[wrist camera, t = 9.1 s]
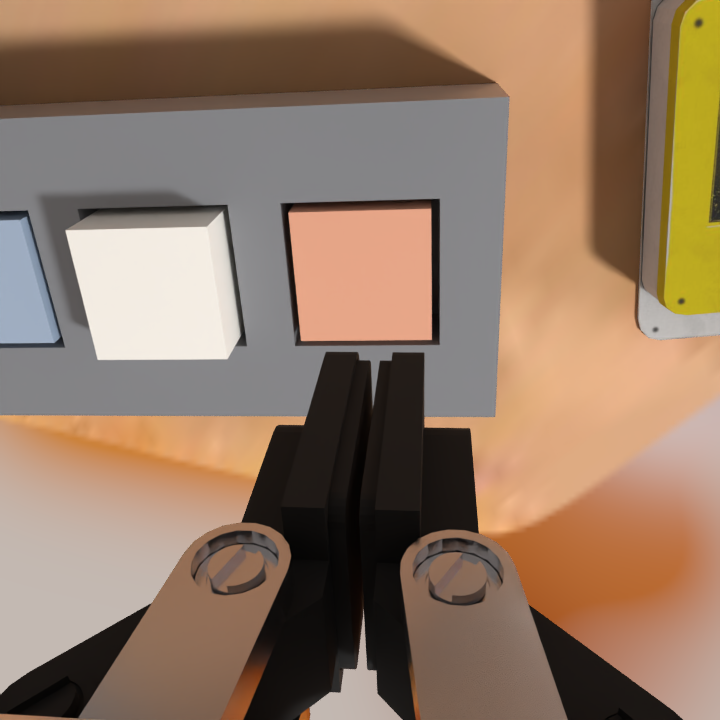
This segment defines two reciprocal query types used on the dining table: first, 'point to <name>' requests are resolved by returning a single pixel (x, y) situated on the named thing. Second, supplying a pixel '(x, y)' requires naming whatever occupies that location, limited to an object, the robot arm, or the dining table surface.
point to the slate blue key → (23, 285)
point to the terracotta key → (363, 269)
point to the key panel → (262, 235)
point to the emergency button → (681, 173)
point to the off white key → (158, 282)
